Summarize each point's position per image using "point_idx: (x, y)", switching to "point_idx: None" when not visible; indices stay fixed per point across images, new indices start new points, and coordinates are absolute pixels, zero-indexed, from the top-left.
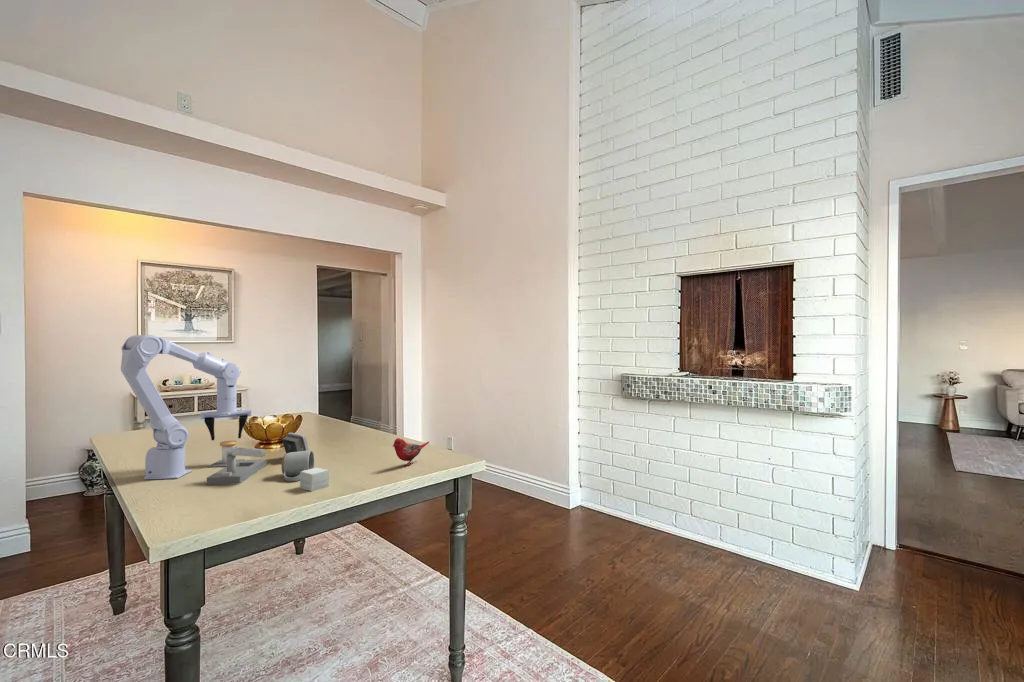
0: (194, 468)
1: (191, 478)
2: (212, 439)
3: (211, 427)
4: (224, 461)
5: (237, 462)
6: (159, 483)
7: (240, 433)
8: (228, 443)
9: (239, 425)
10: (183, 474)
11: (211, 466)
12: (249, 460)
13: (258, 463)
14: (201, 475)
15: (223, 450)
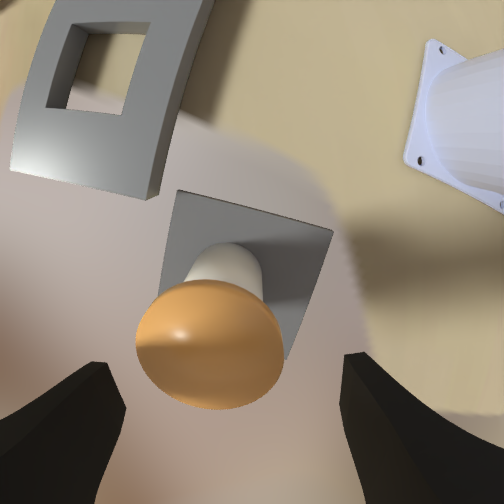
0: (396, 237)
1: (364, 13)
2: (360, 356)
3: (437, 456)
4: (240, 250)
5: (135, 128)
6: (463, 14)
7: (60, 383)
8: (185, 290)
9: (9, 445)
10: (421, 81)
11: (312, 224)
12: (76, 164)
13: (33, 79)
14: (329, 46)
15: (245, 287)
